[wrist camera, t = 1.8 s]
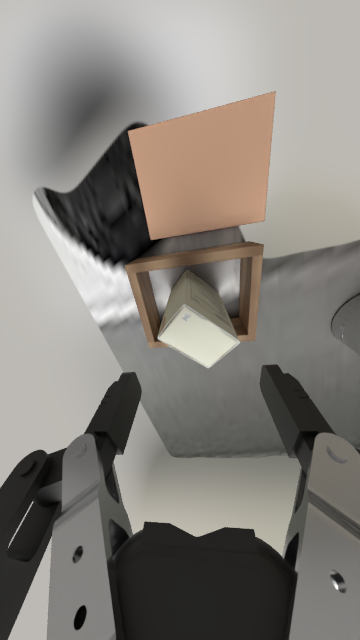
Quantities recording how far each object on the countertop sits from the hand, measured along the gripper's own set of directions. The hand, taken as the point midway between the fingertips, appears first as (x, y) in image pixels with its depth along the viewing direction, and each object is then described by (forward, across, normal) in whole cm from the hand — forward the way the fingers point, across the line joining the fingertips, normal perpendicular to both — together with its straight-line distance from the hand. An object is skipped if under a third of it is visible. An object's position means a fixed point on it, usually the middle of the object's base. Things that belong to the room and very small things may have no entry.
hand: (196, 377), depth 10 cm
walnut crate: (+16, 0, 0) cm, 16 cm away
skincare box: (+16, 0, 0) cm, 17 cm away
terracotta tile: (+16, -2, -13) cm, 21 cm away
